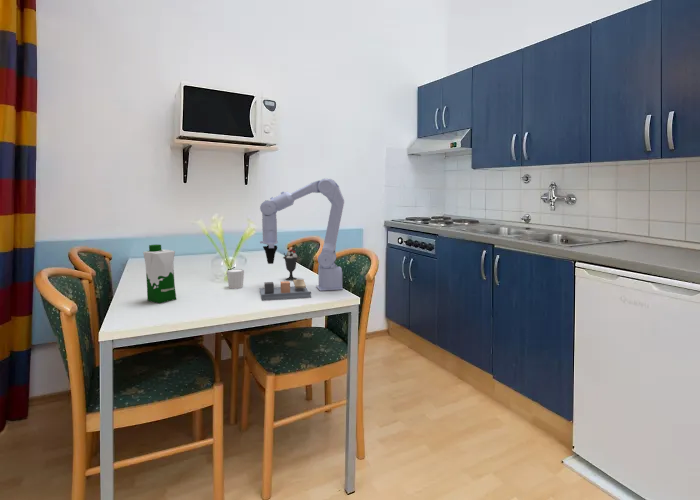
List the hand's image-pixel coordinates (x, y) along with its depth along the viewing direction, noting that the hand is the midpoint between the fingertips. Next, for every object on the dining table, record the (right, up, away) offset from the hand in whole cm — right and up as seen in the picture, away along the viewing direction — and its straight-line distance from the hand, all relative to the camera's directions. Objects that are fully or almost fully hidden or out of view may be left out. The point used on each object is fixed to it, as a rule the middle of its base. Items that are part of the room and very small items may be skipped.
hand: (270, 263), depth 176 cm
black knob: (+2, -11, -16) cm, 19 cm away
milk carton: (-36, -13, -19) cm, 43 cm away
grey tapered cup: (-15, -10, +2) cm, 18 cm away
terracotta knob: (+8, -10, -14) cm, 19 cm away
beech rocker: (+13, -8, -9) cm, 17 cm away
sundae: (+6, -8, +17) cm, 20 cm away
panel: (+7, -12, -11) cm, 17 cm away
